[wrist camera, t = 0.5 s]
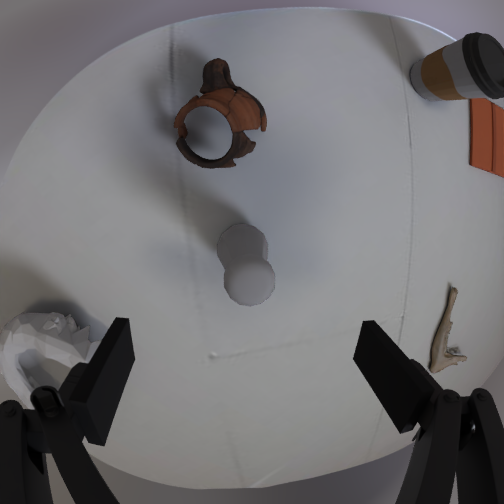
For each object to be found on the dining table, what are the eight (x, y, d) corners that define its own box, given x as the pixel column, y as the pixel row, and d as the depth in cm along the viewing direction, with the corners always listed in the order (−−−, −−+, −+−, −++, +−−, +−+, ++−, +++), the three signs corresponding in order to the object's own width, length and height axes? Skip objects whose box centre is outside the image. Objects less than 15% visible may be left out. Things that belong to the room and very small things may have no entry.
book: (468, 90, 32) (472, 90, 31) (508, 114, 33) (511, 114, 33) (469, 165, 36) (472, 165, 35) (508, 179, 37) (511, 179, 36)
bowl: (17, 273, 33) (-22, 299, 24) (132, 316, 37) (110, 360, 28) (26, 371, 38) (2, 404, 29) (122, 411, 42) (109, 453, 33)
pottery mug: (278, 149, 33) (258, 172, 27) (208, 157, 37) (175, 180, 30) (260, 52, 27) (233, 48, 21) (187, 70, 30) (147, 75, 24)
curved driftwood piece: (430, 379, 48) (434, 385, 46) (412, 310, 42) (418, 317, 40) (463, 355, 47) (468, 360, 45) (452, 282, 41) (459, 287, 39)
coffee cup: (451, 103, 32) (523, 94, 18) (417, 113, 33) (494, 102, 18) (431, 54, 30) (498, 30, 16) (394, 59, 30) (463, 28, 16)
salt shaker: (259, 215, 35) (280, 243, 23) (269, 260, 37) (292, 307, 24) (211, 227, 35) (206, 261, 22) (223, 271, 36) (224, 324, 24)
